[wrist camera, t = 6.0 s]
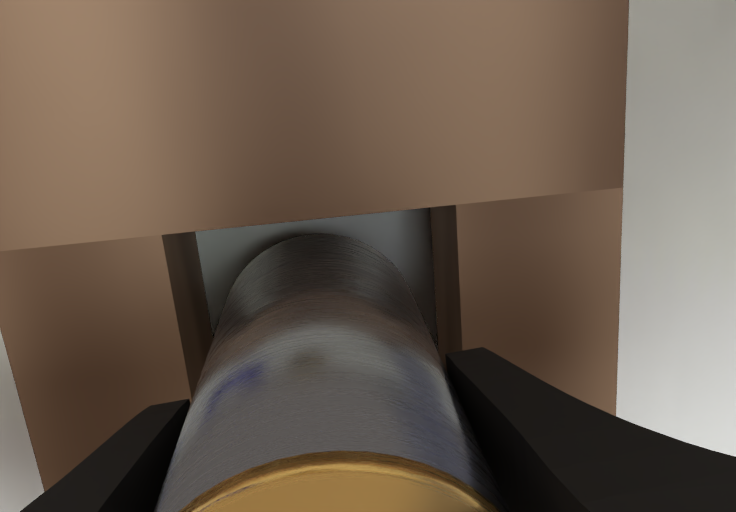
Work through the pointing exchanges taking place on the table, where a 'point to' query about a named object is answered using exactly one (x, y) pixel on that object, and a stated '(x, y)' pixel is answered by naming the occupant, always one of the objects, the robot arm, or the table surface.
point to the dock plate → (299, 179)
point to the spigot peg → (325, 397)
